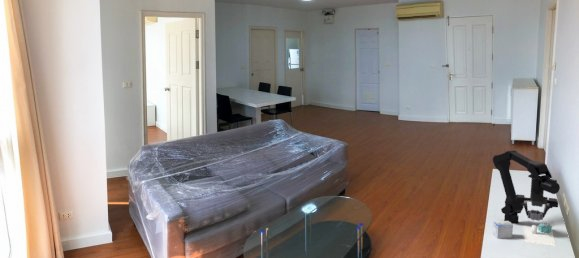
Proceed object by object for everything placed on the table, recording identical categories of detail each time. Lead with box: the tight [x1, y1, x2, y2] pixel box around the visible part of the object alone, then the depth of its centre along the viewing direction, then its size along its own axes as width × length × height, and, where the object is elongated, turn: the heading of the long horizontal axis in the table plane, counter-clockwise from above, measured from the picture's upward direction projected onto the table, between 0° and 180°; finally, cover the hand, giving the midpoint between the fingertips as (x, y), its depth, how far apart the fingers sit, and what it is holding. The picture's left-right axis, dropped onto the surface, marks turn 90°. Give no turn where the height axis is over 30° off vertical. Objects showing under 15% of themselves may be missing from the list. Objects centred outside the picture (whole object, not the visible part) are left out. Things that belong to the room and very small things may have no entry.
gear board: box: [523, 221, 556, 247], centre depth 220 cm, size 13×20×6 cm, turn 153°
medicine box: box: [492, 220, 514, 239], centre depth 221 cm, size 8×4×9 cm, turn 92°
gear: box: [527, 209, 544, 222], centre depth 221 cm, size 7×7×3 cm
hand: (535, 216), depth 221 cm, fingers closed on gear, 7 cm apart
